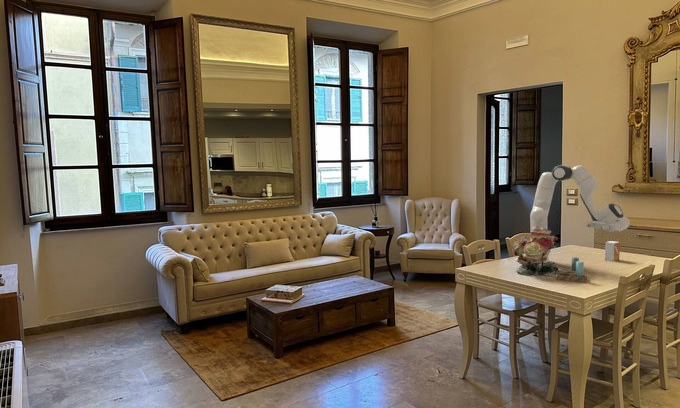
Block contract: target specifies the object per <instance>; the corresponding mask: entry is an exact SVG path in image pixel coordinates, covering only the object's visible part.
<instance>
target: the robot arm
mask: <svg viewBox="0 0 680 408" xmlns="http://www.w3.org/2000/svg"><path fill="white" fill-rule="evenodd" d="M569 179H571V180H572V181H573V182H575V184H576V185H577V186H578V188H579V190H580V191H579V192H580V194H579V197H580V198H581V201H582V203H583V205H584V206H585V208H586V210H587V212H588V213H589V216H590V217H591V220H590V221H589V220H588V221H586V223H585V224H586V225H585V226H586V227H587V228H593V229H600V230H603V231H605V232H607V233H611V232H612V233H613V232H620V233H621V232H622V231H623V230H626V229H628V228H629V226H630V225H631V224H630V223H631V221H630V219H629V218H628V217H626V215H624V212H623V210H622V209H621V207H620V206H619V205H617V204H616V203H608V204H607V205H606V206H604V207H603V208H601V209H598V208H597V207H596V205H595V203H594V201H593V195H594V193H595V191H596V190H597V187H598V182H597V179H596V178H595V176H594V175H593V174H592V173H591V172H590V171H589V170H588V169H587V168H586V167H585V166H584V165H576V166H573V167H570V166H569V165H567V164H560V165H559V164H558V165H557V166H555V167H553V169H552V171H551V172H549V171H546V172H543V173H542V174H541V175H540V177H539V180H538V182H537V186H536V187H537V188H536V190H535V191H536V192H535V194H534V200H533V205H532V209H531V212H530V215H529V219H530V221H529V222H530V224H529V225H530V232H532V231H533V230H532V228H534V227H535V226H539V227H541V228H544V229H548V216H549V213H550V207H551V203H552V200H553V197H554V196H553V195H554V192H555V187H556V184H557V183H558V182H565V181H568V180H569ZM530 241H532V239H531V238H530ZM518 257H519V256H516V257H515V261H516V262H518V261H517V260H518ZM522 261H523V260H522ZM549 262H550V259H549V256H548V257H547V260H546V261H543V264H548V263H549ZM539 264H542V262H540V263H539Z"/></svg>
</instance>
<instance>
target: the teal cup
mask: <svg viewBox="0 0 680 408" xmlns="http://www.w3.org/2000/svg"><path fill="white" fill-rule="evenodd" d="M577 261H580V259H579V257H571V268H564V267H563V268H562V267H561V268H558V269H559V270H558V272H560V273H571V274H576V262H577Z"/></svg>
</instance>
